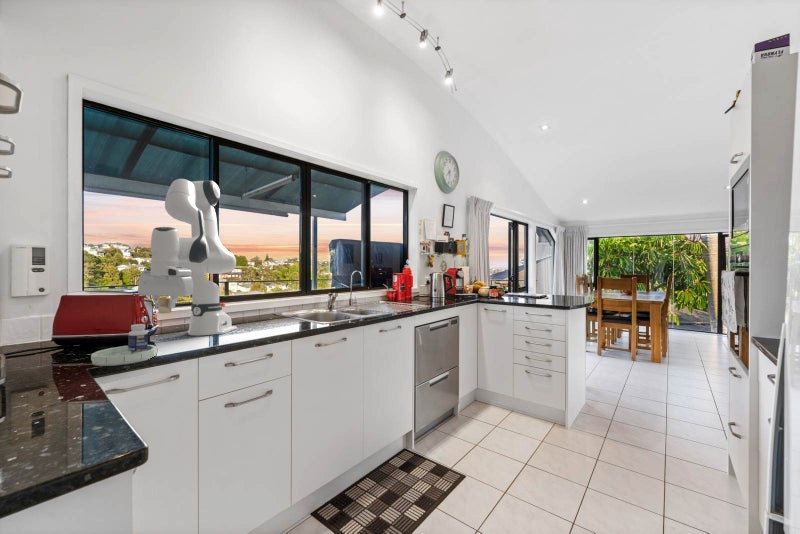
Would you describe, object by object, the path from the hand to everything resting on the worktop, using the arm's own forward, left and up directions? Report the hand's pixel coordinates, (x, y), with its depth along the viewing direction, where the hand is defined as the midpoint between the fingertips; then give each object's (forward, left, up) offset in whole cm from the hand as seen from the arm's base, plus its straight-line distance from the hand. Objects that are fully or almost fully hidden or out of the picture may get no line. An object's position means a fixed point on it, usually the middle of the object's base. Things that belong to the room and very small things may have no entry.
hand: (165, 307), depth 128 cm
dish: (+12, -4, -16) cm, 20 cm away
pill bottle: (+7, -4, -15) cm, 17 cm away
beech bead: (0, 0, -2) cm, 2 cm away
